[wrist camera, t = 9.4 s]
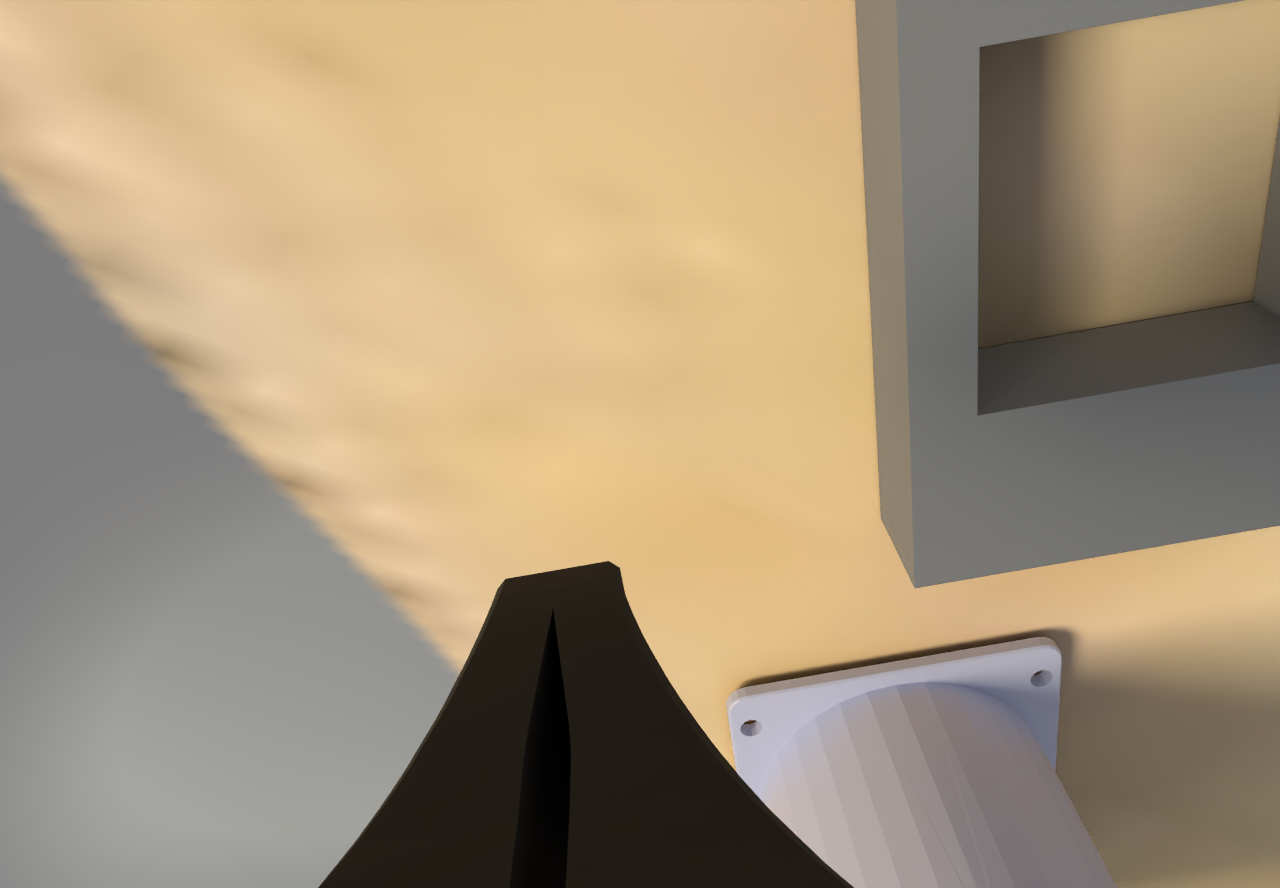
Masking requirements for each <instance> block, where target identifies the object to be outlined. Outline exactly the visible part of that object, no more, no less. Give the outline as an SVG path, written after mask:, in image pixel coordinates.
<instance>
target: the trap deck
mask: <svg viewBox="0 0 1280 888" xmlns="http://www.w3.org/2000/svg"><path fill="white" fill-rule="evenodd" d="M855 1H856V22H857V42H858V62H859V83H860V103H861V123H862V144H863V164H864V184H865V204H866V225H867V245H868V265H869V286H870V306H871V326H872V347H873V367H874V387H875V407H876V428H877V448H878V468H879V489H880V509H881V520H882V522H883V524H884V526H885V528H886V530H887V532H888V534H889V536H890V538H891V540H892V542H893V544H894V546H895V548H896V551H897V553H898V555H899V557H900V559H901V561H902V563H903V565H904V567H905V569H906V571H907V573H908V575H909V577H910V579H911V582H912V584H913V586H914V588H919V587H925V586H931V585H937V584H943V583H948V582H954V581H960V580H966V579H972V578H977V577H983V576H989V575H995V574H1001V573H1006V572H1012V571H1018V570H1024V569H1030V568H1036V567H1041V566H1047V565H1053V564H1059V563H1065V562H1070V561H1076V560H1082V559H1088V558H1094V557H1099V556H1105V555H1111V554H1117V553H1123V552H1128V551H1134V550H1140V549H1146V548H1152V547H1158V546H1163V545H1169V544H1175V543H1181V542H1187V541H1192V540H1198V539H1204V538H1210V537H1216V536H1221V535H1227V534H1233V533H1239V532H1245V531H1250V530H1256V529H1262V528H1268V527H1274V526H1279V525H1280V119H1279V126H1278V133H1277V140H1276V147H1275V154H1274V161H1273V168H1272V174H1271V181H1270V188H1269V195H1268V202H1267V209H1266V216H1265V223H1264V229H1263V236H1262V243H1261V250H1260V257H1259V264H1258V271H1257V278H1256V284H1255V291H1254V298H1253V301H1252V302H1246V303H1240V304H1235V305H1229V306H1223V307H1217V308H1212V309H1206V310H1200V311H1194V312H1189V313H1183V314H1177V315H1171V316H1166V317H1160V318H1154V319H1148V320H1143V321H1137V322H1131V323H1125V324H1120V325H1114V326H1108V327H1102V328H1097V329H1091V330H1085V331H1080V332H1074V333H1068V334H1062V335H1057V336H1051V337H1045V338H1039V339H1034V340H1028V341H1022V342H1016V343H1011V344H1005V345H999V346H993V347H988V348H982V349H978V231H979V52H980V47H983V46H988V45H994V44H1000V43H1005V42H1011V41H1017V40H1022V39H1028V38H1033V37H1039V36H1045V35H1050V34H1056V33H1062V32H1067V31H1073V30H1079V29H1084V28H1090V27H1096V26H1101V25H1107V24H1113V23H1118V22H1124V21H1130V20H1135V19H1141V18H1147V17H1152V16H1158V15H1164V14H1169V13H1175V12H1181V11H1186V10H1192V9H1198V8H1203V7H1209V6H1215V5H1220V4H1226V3H1232V2H1237V1H1243V0H855Z"/></svg>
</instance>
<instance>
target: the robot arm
mask: <svg viewBox="0 0 1280 888" xmlns="http://www.w3.org/2000/svg"><path fill="white" fill-rule="evenodd" d="M1041 670H1043V671H1042V672H1041V673H1040V674H1037V675H1034V674H1035V673H1036V672H1038V671H1041ZM1061 671H1062V654H1061V651H1060V650H1059V648H1058V646H1057V645H1056V643H1055V642H1054V641H1053V640H1052V639H1050V638H1047V637H1034V638H1029V639H1023V640H1017V641H1011V642H1005V643H999V644H994V645H988V646H982V647H976V648H970V649H964V650H959V651H953V652H947V653H941V654H935V655H929V656H924V657H918V658H912V659H906V660H900V661H894V662H889V663H883V664H877V665H871V666H865V667H859V668H854V669H848V670H842V671H836V672H830V673H825V674H819V675H813V676H807V677H801V678H795V679H790V680H784V681H778V682H772V683H766V684H760V685H755V686H749V687H744V688H741V689H738V690H736V691H734V692H733V693H732V694H730V696H729V697H728V699H727V703H726V709H727V715H728V722H729V728H730V735H731V741H732V747H733V754H734V760H735V767H736V771H735V770H734V769H733V767H732V766H731V765H730V764H729V763H728V762H727V760H726V759H725V758H724V757H723V756H722V754H721V753H720V752H719V751H718V749H717V748H716V747H715V745H714V744H713V743H712V742H711V740H710V739H709V738H708V736H707V735H706V734H705V732H704V731H703V730H702V728H701V727H700V726H699V724H698V723H697V722H696V720H695V719H694V717H693V716H692V714H691V713H690V712H689V710H688V709H687V707H686V706H685V704H684V703H683V702H682V700H681V699H680V697H679V696H678V694H677V692H676V691H675V689H674V688H673V686H672V685H671V683H670V682H669V680H668V678H667V677H666V675H665V673H664V672H663V670H662V668H661V666H660V665H659V663H658V661H657V660H656V658H655V656H654V654H653V653H652V651H651V649H650V648H649V646H648V644H647V642H646V640H645V638H644V636H643V634H642V632H641V630H640V628H639V626H638V624H637V622H636V620H635V617H634V615H633V613H632V611H631V608H630V606H629V603H628V601H627V598H626V595H625V591H624V587H623V582H622V577H621V572H620V568H619V567H617V566H616V565H614V564H613V563H611V562H609V561H607V562H601V563H595V564H590V565H584V566H578V567H572V568H566V569H561V570H555V571H549V572H543V573H537V574H532V575H526V576H520V577H514V578H509V579H505V580H504V582H503V583H502V584H501V585H500V587H499V588H498V590H497V592H496V595H495V598H494V600H493V603H492V605H491V608H490V610H489V612H488V615H487V617H486V620H485V622H484V624H483V626H482V629H481V631H480V633H479V635H478V638H477V640H476V642H475V644H474V646H473V648H472V650H471V653H470V655H469V657H468V659H467V661H466V663H465V665H464V667H463V669H462V671H461V673H460V675H459V677H458V678H457V680H456V682H455V684H454V686H453V688H452V690H451V692H450V694H449V696H448V698H447V700H446V702H445V704H444V706H443V708H442V709H441V711H440V713H439V715H438V716H437V718H436V720H435V722H434V723H433V725H432V727H431V728H430V730H429V732H428V733H427V735H426V737H425V738H424V740H423V742H422V743H421V745H420V747H419V748H418V750H417V752H416V753H415V755H414V757H413V758H412V760H411V762H410V763H409V765H408V767H407V768H406V770H405V771H404V773H403V775H402V776H401V778H400V779H399V781H398V782H397V784H396V785H395V787H394V788H393V790H392V791H391V793H390V794H389V796H388V797H387V799H386V800H385V801H384V803H383V804H382V806H381V807H380V809H379V810H378V811H377V813H376V814H375V816H374V817H373V818H372V820H371V821H370V823H369V824H368V825H367V827H366V828H365V829H364V831H363V832H362V833H361V835H360V836H359V838H358V839H357V840H356V841H355V843H354V844H353V845H352V847H351V848H350V849H349V850H348V852H347V853H346V854H345V855H344V857H343V858H342V859H341V860H340V862H339V863H338V864H337V865H336V867H335V868H334V869H333V870H332V871H331V873H330V874H329V875H328V877H327V878H326V879H325V880H324V882H323V883H322V884H321V885H320V886H319V888H1117V886H1116V884H1115V882H1114V880H1113V878H1112V876H1111V875H1110V873H1109V871H1108V869H1107V867H1106V865H1105V863H1104V862H1103V860H1102V858H1101V856H1100V854H1099V852H1098V850H1097V849H1096V847H1095V845H1094V843H1093V841H1092V839H1091V837H1090V836H1089V834H1088V832H1087V830H1086V828H1085V826H1084V824H1083V823H1082V821H1081V819H1080V817H1079V815H1078V813H1077V811H1076V810H1075V808H1074V806H1073V804H1072V802H1071V800H1070V798H1069V796H1068V795H1067V793H1066V791H1065V789H1064V787H1063V785H1062V783H1061V782H1060V780H1059V778H1058V776H1057V774H1056V756H1057V739H1058V722H1059V705H1060V688H1061ZM749 720H756V722H754V723H752V724H743V723H744V722H746V721H749Z"/></svg>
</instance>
